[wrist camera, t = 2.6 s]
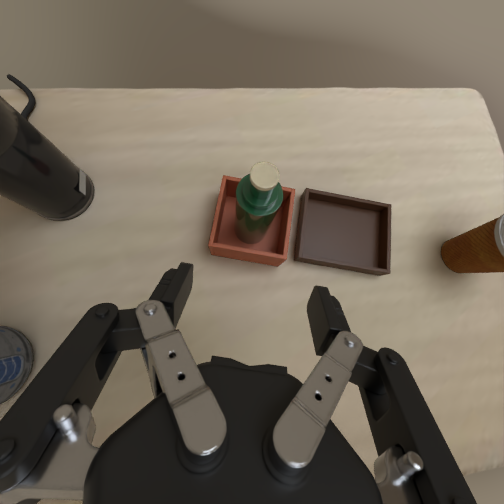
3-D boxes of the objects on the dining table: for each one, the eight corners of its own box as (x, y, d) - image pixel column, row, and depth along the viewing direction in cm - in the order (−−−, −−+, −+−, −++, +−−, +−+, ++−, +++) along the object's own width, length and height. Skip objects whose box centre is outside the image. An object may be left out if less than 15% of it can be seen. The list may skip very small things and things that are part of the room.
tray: (293, 260, 39) (298, 257, 37) (301, 195, 42) (306, 187, 40) (379, 275, 40) (390, 273, 37) (381, 210, 43) (391, 204, 40)
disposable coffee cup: (426, 232, 43) (500, 204, 31) (472, 229, 44) (560, 201, 32) (440, 284, 41) (524, 275, 29) (488, 280, 42) (588, 269, 30)
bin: (211, 254, 38) (208, 245, 32) (224, 193, 41) (223, 174, 35) (278, 266, 39) (286, 259, 33) (286, 205, 41) (295, 188, 36)
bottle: (227, 228, 39) (225, 173, 23) (249, 206, 40) (263, 140, 24) (251, 251, 39) (266, 211, 23) (273, 228, 40) (303, 175, 24)
